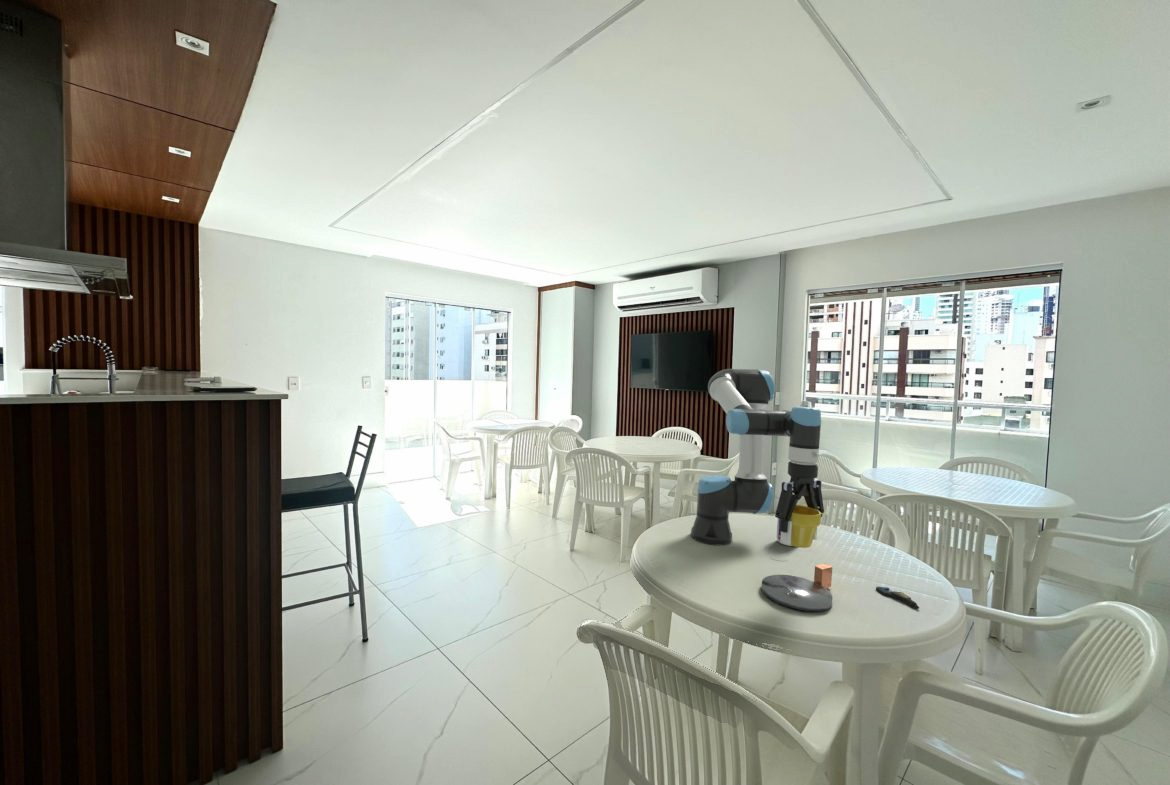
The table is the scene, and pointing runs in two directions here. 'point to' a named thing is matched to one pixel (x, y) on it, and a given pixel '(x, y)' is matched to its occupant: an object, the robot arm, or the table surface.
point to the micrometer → (897, 596)
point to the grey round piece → (801, 590)
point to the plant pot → (804, 525)
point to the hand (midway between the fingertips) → (798, 540)
